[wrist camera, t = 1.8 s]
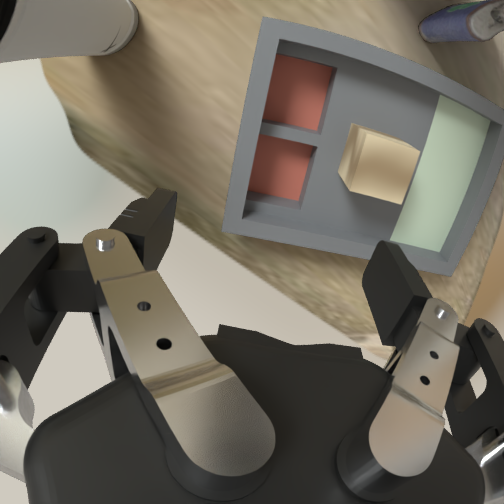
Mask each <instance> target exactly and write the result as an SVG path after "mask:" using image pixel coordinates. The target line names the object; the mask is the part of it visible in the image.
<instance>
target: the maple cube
mask: <svg viewBox="0 0 504 504" xmlns="http://www.w3.org/2000/svg"><path fill="white" fill-rule="evenodd" d="M419 154H420V151H419V150H417V149H416V148H414V147H412V146H411V145H409V144H408V143H406V142H404V141H403V140H401V139H399V138H397V137H394V136H391V135H388V134H385V133H382V132H379V131H376V130H373V129H370V128H367V127H364V126H360V125H357V124H354V123H351V127H350V131H349V134H348V138H347V141H346V145H345V149H344V152H343V155H342V159H341V162H340V166H339V169H338V173H339V175H340V176H341V178H342V180H343V181H344V183H345V184H346V186H347V187H348V189H349V191H352V192H356V193H360V194H364V195H368V196H372V197H375V198H379V199H383V200H386V201H390V202H394V203H397V204H402V202H403V199H404V197H405V194H406V191H407V188H408V186H409V183H410V180H411V177H412V175H413V172H414V169H415V166H416V163H417V160H418V157H419Z"/></svg>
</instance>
